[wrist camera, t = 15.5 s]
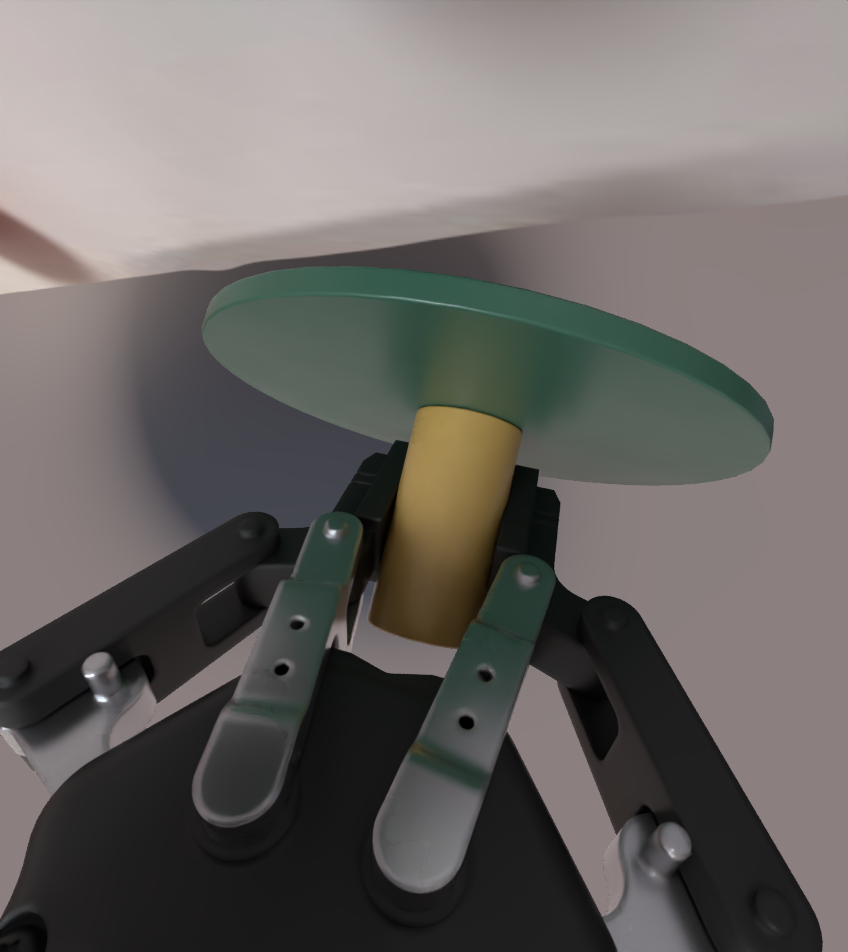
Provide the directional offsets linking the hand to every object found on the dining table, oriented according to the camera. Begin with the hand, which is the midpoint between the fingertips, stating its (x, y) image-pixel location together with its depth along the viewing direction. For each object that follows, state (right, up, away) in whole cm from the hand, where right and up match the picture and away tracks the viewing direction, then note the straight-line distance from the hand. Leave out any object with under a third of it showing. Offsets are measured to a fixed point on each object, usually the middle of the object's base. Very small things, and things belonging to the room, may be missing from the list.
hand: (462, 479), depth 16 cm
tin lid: (0, +2, -2) cm, 3 cm away
